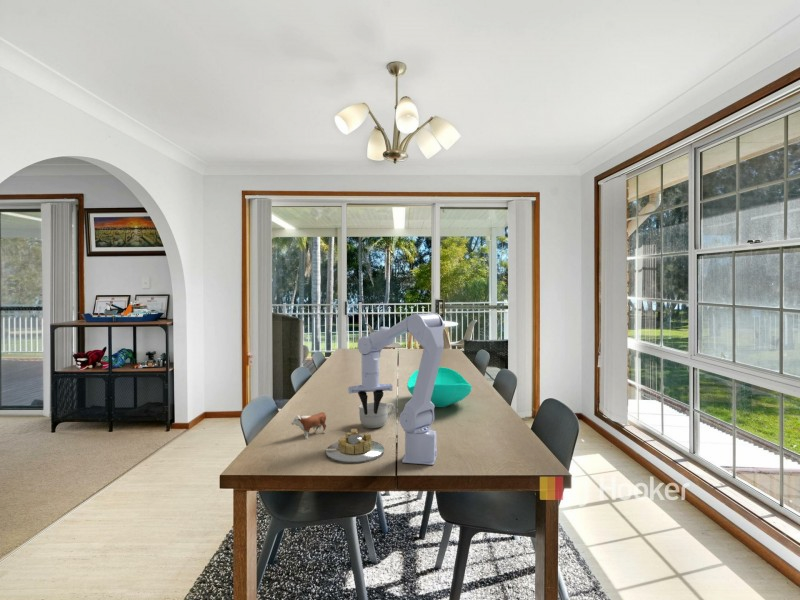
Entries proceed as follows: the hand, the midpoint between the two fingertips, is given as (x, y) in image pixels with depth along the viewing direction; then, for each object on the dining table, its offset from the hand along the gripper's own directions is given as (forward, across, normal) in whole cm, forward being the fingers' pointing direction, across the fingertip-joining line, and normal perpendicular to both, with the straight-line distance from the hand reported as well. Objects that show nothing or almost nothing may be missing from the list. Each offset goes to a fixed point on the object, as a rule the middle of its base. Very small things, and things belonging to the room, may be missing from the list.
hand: (370, 413), depth 152 cm
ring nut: (+8, +6, +5) cm, 11 cm away
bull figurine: (+10, +19, -13) cm, 25 cm away
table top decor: (+10, -38, -39) cm, 56 cm away
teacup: (+10, -6, -18) cm, 22 cm away
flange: (+10, +6, +7) cm, 14 cm away
